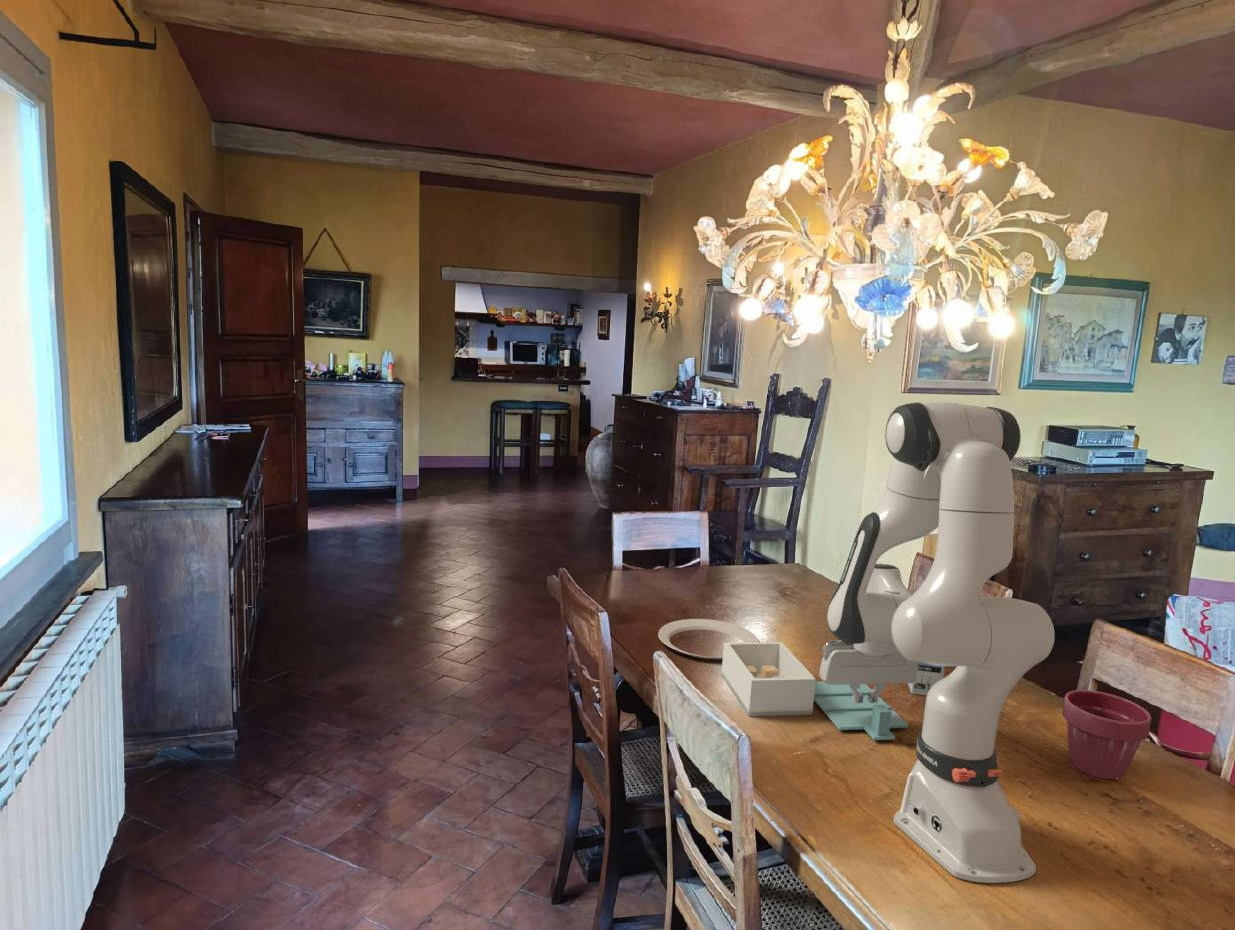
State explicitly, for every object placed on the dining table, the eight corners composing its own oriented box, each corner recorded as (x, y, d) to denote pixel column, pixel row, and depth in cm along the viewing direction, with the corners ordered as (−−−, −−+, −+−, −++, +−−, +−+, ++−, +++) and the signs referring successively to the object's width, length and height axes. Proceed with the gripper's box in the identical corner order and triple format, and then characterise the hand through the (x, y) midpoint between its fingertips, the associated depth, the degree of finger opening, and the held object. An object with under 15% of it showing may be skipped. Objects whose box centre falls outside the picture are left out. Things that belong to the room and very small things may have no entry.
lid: (918, 742, 163) (922, 712, 162) (848, 745, 160) (851, 714, 159) (861, 686, 187) (864, 659, 186) (799, 688, 185) (802, 661, 184)
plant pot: (1113, 750, 163) (1123, 691, 161) (1157, 790, 149) (1169, 725, 147) (1041, 746, 163) (1050, 686, 161) (1079, 785, 150) (1089, 720, 147)
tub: (812, 714, 172) (815, 679, 170) (748, 716, 169) (751, 680, 168) (778, 674, 191) (781, 641, 190) (721, 675, 189) (723, 642, 187)
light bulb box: (941, 698, 183) (947, 653, 181) (910, 694, 184) (915, 649, 182) (933, 679, 193) (938, 636, 191) (903, 675, 194) (909, 632, 193)
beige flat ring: (700, 619, 225) (701, 612, 225) (778, 647, 208) (778, 640, 207) (637, 640, 208) (637, 633, 207) (715, 674, 190) (716, 666, 189)
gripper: (830, 645, 163) (824, 710, 165) (925, 644, 166) (917, 707, 168) (818, 633, 169) (811, 696, 171) (909, 632, 172) (902, 694, 174)
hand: (864, 701), depth 170 cm, fingers closed
